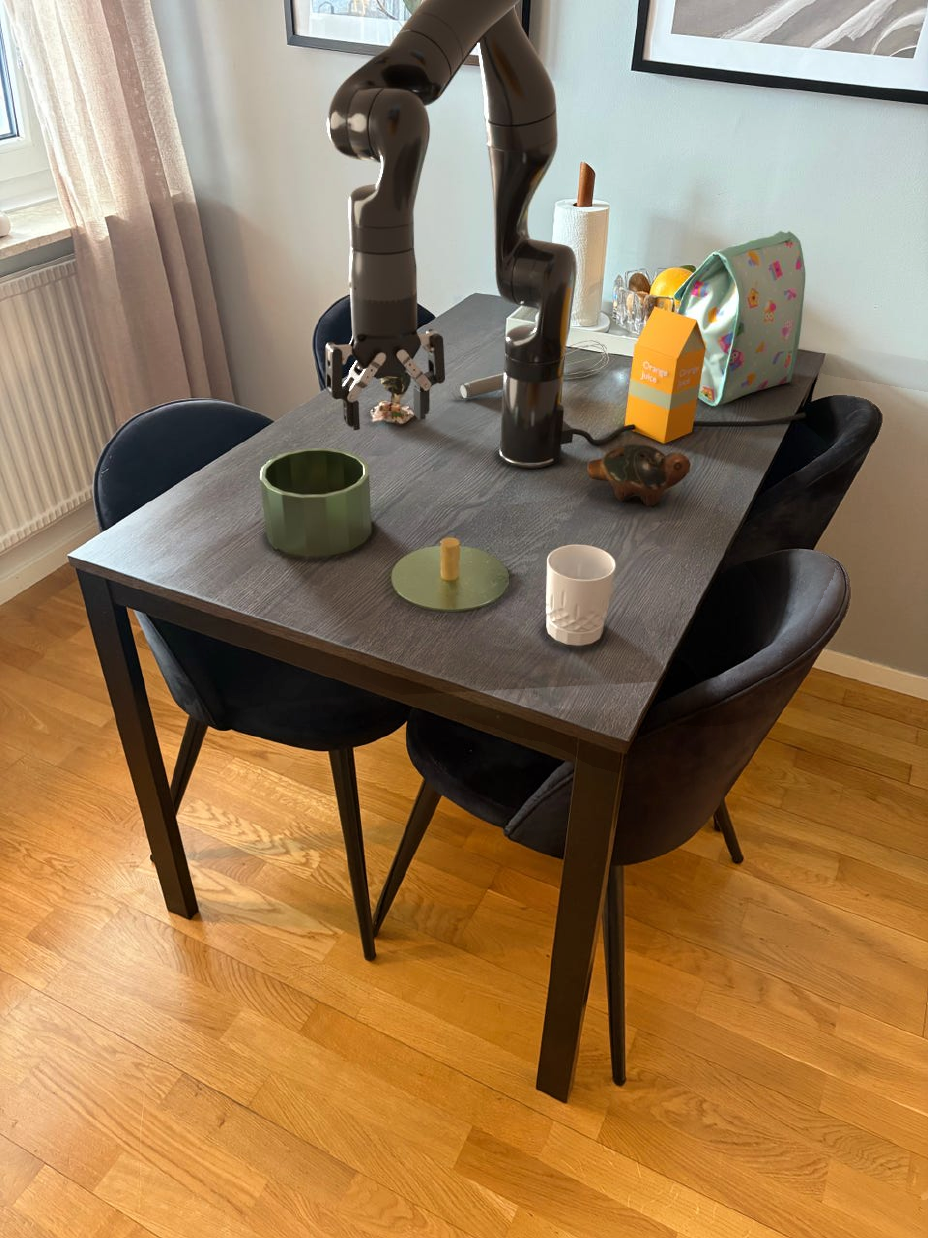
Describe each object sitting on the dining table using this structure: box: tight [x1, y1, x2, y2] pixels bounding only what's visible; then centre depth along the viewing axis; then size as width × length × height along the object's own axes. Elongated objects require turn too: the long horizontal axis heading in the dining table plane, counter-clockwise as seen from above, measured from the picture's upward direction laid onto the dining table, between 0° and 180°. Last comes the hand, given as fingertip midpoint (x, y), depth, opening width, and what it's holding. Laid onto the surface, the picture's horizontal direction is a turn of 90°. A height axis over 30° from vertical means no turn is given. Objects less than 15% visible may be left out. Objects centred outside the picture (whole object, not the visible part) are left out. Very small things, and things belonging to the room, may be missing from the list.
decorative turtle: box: [586, 443, 691, 507], centre depth 142 cm, size 10×15×8 cm, turn 74°
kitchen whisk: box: [452, 340, 610, 401], centre depth 178 cm, size 6×34×6 cm, turn 119°
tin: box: [259, 447, 372, 558], centre depth 131 cm, size 14×14×10 cm
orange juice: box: [624, 306, 706, 444], centre depth 158 cm, size 8×9×20 cm
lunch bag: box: [673, 230, 806, 407], centre depth 173 cm, size 23×16×27 cm
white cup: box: [545, 544, 617, 647], centre depth 113 cm, size 8×8×10 cm
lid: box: [390, 537, 510, 613], centre depth 122 cm, size 15×15×6 cm
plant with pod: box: [370, 371, 415, 426], centre depth 161 cm, size 8×11×20 cm
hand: (387, 422), depth 117 cm, fingers open, 8 cm apart
